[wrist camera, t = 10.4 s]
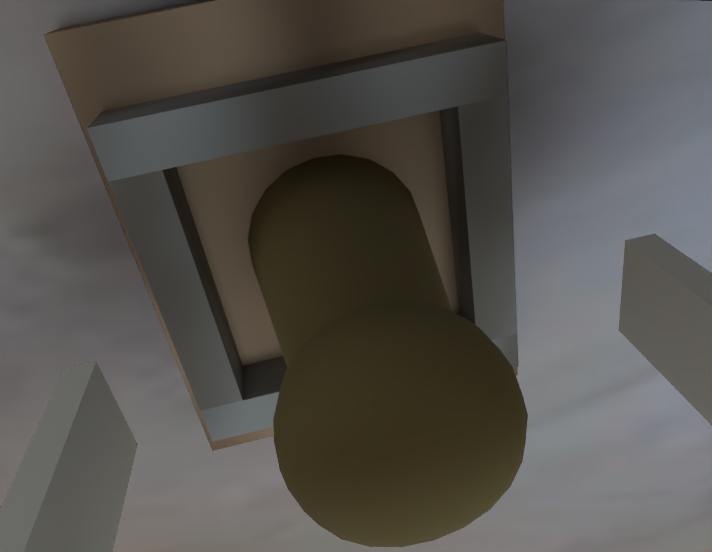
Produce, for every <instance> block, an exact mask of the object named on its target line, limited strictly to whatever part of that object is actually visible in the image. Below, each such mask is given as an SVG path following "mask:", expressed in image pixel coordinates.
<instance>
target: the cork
mask: <svg viewBox="0 0 712 552" xmlns="http://www.w3.org/2000/svg"><path fill="white" fill-rule="evenodd" d="M248 245H249V250H250V255H251V261H252V265H253V268H254V271H255V274H256V277H257V280H258V283H259V286H260V289H261V292H262V295H263V298H264V301H265V304H266V307H267V310H268V312H269V315H270V318H271V321H272V324H273V327H274V330H275V333H276V336H277V339H278V342H279V345H280V348H281V351H282V354H283V357H284V360H285V362H286V365H287V370H286V371H285V374H284V377H283V381H282V384H281V387H280V391H279V396H278V400H277V405H276V409H275V414H274V418H273V428H274V443H275V448H276V453H277V458H278V463H279V468H280V471H281V474H282V476H283V478H284V481H285V483H286V485H287V488H288V490H289V491H290V492H291V494H292V495H293V497H294V498H295V499H296V501H297V502H298V503H299V505H300V506H301V508H302V509H303V510H304V512H305V513H306V514H308V515H309V516H310V517H311V518H312V519H313V520H314V521H315V522H316V523H317V524H318V525H320V526H321V527H323V528H325V529H326V530H328V531H329V532H331V533H333V534H334V535H336V536H337V537H339V538H341V539H343V540H347V541H350V542H354V543H358V544H362V545H366V546H370V547H404V546H409V545H414V544H418V543H423V542H428V541H433V540H436V539H438V538H440V537H443V536H445V535H447V534H450V533H452V532H454V531H457V530H459V529H461V528H464V527H465V526H467V525H468V524H470V523H471V522H472V521H474V520H475V519H477V518H478V517H480V516H481V515H482V514H484V513H485V512H487V511H488V510H490V509H491V508H492V506H493V505H494V504H495V503H496V502H497V501H498V500H499V499H500V497H501V496H502V495H503V494H504V493H505V492H506V491H507V490H508V488H509V487H510V486H511V484H512V482H513V480H514V478H515V475H516V473H517V471H518V469H519V467H520V465H521V463H522V459H523V453H524V448H525V440H526V428H527V417H528V414H527V410H526V407H525V403H524V399H523V395H522V392H521V390H520V387H519V384H518V381H517V378H516V375H515V372H514V369H513V367H512V366H511V364H510V363H509V361H508V360H507V358H506V357H505V356H504V354H503V353H502V351H501V350H500V349H499V348H498V347H497V346H496V345H495V344H494V343H493V342H492V340H491V339H490V338H489V337H488V336H487V335H486V334H485V333H484V332H483V331H482V330H481V329H480V328H479V327H477V326H476V325H475V324H473V323H472V322H470V321H469V320H468V319H466V318H465V317H462V316H460V315H458V314H456V313H454V312H453V311H452V308H451V305H450V302H449V299H448V296H447V293H446V290H445V287H444V285H443V282H442V279H441V276H440V273H439V270H438V267H437V264H436V261H435V258H434V255H433V252H432V249H431V247H430V244H429V241H428V238H427V235H426V232H425V229H424V226H423V223H422V220H421V217H420V215H419V212H418V209H417V207H416V204H415V202H414V199H413V197H412V194H411V192H410V191H409V189H408V188H407V187H406V186H405V185H404V184H403V183H402V181H401V180H400V179H399V178H398V177H397V176H396V175H395V173H394V172H392V171H390V170H388V169H386V168H385V167H383V166H381V165H379V164H377V163H376V162H374V161H372V160H370V159H365V158H360V157H355V156H349V155H344V154H340V155H332V156H324V157H317V158H312V159H310V160H308V161H305V162H303V163H301V164H299V165H297V166H295V167H293V168H290V169H288V170H286V171H285V172H284V173H283V174H282V175H281V176H280V177H279V178H278V179H276V180H275V181H274V182H273V183H272V184H271V185H270V186H269V187H268V188H267V189H266V190H265V191H264V193H263V195H262V197H261V198H260V200H259V202H258V204H257V206H256V207H255V209H254V211H253V213H252V217H251V223H250V229H249V234H248Z"/></svg>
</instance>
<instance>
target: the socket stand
mask: <svg viewBox="0 0 712 552" xmlns="http://www.w3.org/2000/svg"><path fill="white" fill-rule="evenodd" d="M44 37H45V39H46V42H47V44H48V47H49V49H50V52H51V54H52V57H53V59H54V62H55V64H56V66H57V69H58V71H59V74H60V76H61V79H62V81H63V84H64V86H65V89H66V91H67V94H68V96H69V99H70V101H71V103H72V106H73V108H74V111H75V113H76V116H77V118H78V121H79V123H80V126H81V128H82V131H83V133H84V135H85V138H86V140H87V143H88V145H89V148H90V150H91V153H92V155H93V158H94V160H95V163H96V165H97V167H98V170H99V172H100V175H101V177H102V180H103V182H104V185H105V187H106V190H107V192H108V195H109V197H110V200H111V202H112V204H113V207H114V209H115V212H116V214H117V217H118V219H119V222H120V224H121V227H122V229H123V232H124V234H125V236H126V239H127V241H128V244H129V246H130V249H131V251H132V254H133V256H134V259H135V261H136V264H137V266H138V268H139V271H140V273H141V276H142V278H143V281H144V283H145V286H146V288H147V291H148V293H149V296H150V298H151V300H152V303H153V305H154V308H155V310H156V313H157V315H158V318H159V320H160V323H161V325H162V328H163V330H164V333H165V335H166V337H167V340H168V342H169V345H170V347H171V350H172V352H173V355H174V357H175V360H176V362H177V365H178V367H179V369H180V372H181V374H182V377H183V379H184V382H185V384H186V387H187V389H188V392H189V394H190V397H191V399H192V401H193V404H194V406H195V409H196V411H197V414H198V416H199V419H200V421H201V424H202V426H203V429H204V431H205V434H206V436H207V438H208V441H209V443H210V446H211V448H212V451H213V450H217V449H221V448H225V447H229V446H233V445H237V444H241V443H245V442H250V441H254V440H258V439H262V438H266V437H270V436H274V428H273V418H274V414H275V409H276V405H277V400H278V396H279V391H280V387H281V384H282V381H283V377H284V374H285V371H286V370H287V365H286V362H285V360H284V357H283V354H282V351H281V348H280V345H279V342H278V339H277V336H276V333H275V330H274V327H273V324H272V321H271V318H270V315H269V312H268V310H267V307H266V304H265V301H264V298H263V295H262V292H261V289H260V286H259V283H258V280H257V277H256V274H255V271H254V268H253V265H252V261H251V255H250V250H249V245H248V234H249V229H250V223H251V217H252V213H253V211H254V209H255V207H256V206H257V204H258V202H259V200H260V198H261V197H262V195H263V193H264V191H265V190H266V189H267V188H268V187H269V186H270V185H271V184H272V183H273V182H274V181H275V180H276V179H278V178H279V177H280V176H281V175H282V174H283V173H284V172H285V171H286V170H288V169H290V168H293V167H295V166H297V165H299V164H301V163H303V162H305V161H308V160H310V159H312V158H317V157H324V156H332V155H340V154H344V155H349V156H355V157H360V158H365V159H370V160H372V161H374V162H376V163H377V164H379V165H381V166H383V167H385V168H386V169H388V170H390V171H392V172H394V173H395V175H396V176H397V177H398V178H399V179H400V180H401V181H402V183H403V184H404V185H405V186H406V187H407V188H408V189H409V191H410V192H411V194H412V197H413V199H414V202H415V204H416V207H417V209H418V212H419V215H420V217H421V220H422V223H423V226H424V229H425V232H426V235H427V238H428V241H429V244H430V247H431V249H432V252H433V255H434V258H435V261H436V264H437V267H438V270H439V273H440V276H441V279H442V282H443V285H444V287H445V290H446V293H447V296H448V299H449V302H450V305H451V308H452V311H453V312H454V313H456V314H458V315H460V316H462V317H465V318H466V319H468V320H469V321H470V322H472V323H473V324H475V325H476V326H477V327H479V328H480V329H481V330H482V331H483V332H484V333H485V334H486V335H487V336H488V337H489V338H490V339H491V340H492V342H493V343H494V344H495V345H496V346H497V347H498V348H499V349H500V350H501V351H502V353H503V354H504V356H505V357H506V358H507V360H508V361H509V363H510V364H511V366H512V367H513V369H514V372H515V375H517V367H518V345H517V318H516V291H515V264H514V237H513V211H512V184H511V157H510V130H509V103H508V76H507V49H506V40H505V36H504V10H503V0H203V1H198V2H193V3H188V4H183V5H177V6H172V7H167V8H162V9H157V10H152V11H147V12H142V13H137V14H132V15H127V16H122V17H117V18H112V19H107V20H102V21H97V22H91V23H86V24H81V25H76V26H71V27H66V28H61V29H57V30H55V31H52V32H49V33H47V34H44Z"/></svg>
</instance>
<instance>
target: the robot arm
mask: <svg viewBox="0 0 712 552" xmlns="http://www.w3.org/2000/svg"><path fill="white" fill-rule="evenodd" d="M619 331H620V332H621V333H622V334H623V335H624V336H625V337H626V338H627V339H628V340H629V341H630V342H631V343H632V344H633V345H634V346H635V347H636V348H637V349H638V350H639V351H640V352H641V353H642V354H643V355H644V356H645V357H646V359H647V360H648V361H649V362H650V363H651V364H652V365H653V366H654V367H655V368H656V369H657V370H658V371H659V372H660V373H661V374H662V375H663V376H664V377H665V378H666V379H667V380H668V381H669V382H670V383H671V384H672V385H673V386H674V387H675V388H676V389H677V390H678V391H679V392H680V393H681V394H682V395H683V396H684V397H685V398H686V399H687V400H688V401H689V403H690V404H691V405H692V406H693V407H694V408H695V409H696V410H697V411H698V412H699V413H700V414H701V415H702V416H703V417H704V418H705V419H706V420H707V421H708V422H709V423H710V424H711V425H712V273H711V272H709V271H708V270H706V269H705V268H703V267H702V266H700V265H699V264H698V263H696V262H695V261H693V260H692V259H690V258H689V257H687V256H686V255H685V254H683V253H682V252H680V251H679V250H677V249H676V248H674V247H673V246H672V245H670V244H669V243H667V242H666V241H664V240H663V239H661V238H660V237H659V236H657V235H656V234H651V235H647V236H643V237H638V238H634V239H630V240H625V252H624V266H623V279H622V293H621V306H620V320H619ZM136 448H137V442H136V440H135V438H134V436H133V434H132V432H131V430H130V428H129V426H128V424H127V422H126V420H125V418H124V416H123V414H122V412H121V410H120V408H119V406H118V404H117V402H116V400H115V398H114V396H113V394H112V392H111V390H110V388H109V386H108V384H107V382H106V380H105V378H104V376H103V374H102V372H101V370H100V368H99V366H98V364H97V362H96V361H95V362H91V363H86V364H82V365H78V366H73V367H69V368H64V369H63V371H62V373H61V376H60V378H59V380H58V382H57V384H56V387H55V389H54V391H53V393H52V396H51V398H50V400H49V402H48V404H47V407H46V409H45V411H44V413H43V415H42V418H41V420H40V422H39V424H38V426H37V429H36V431H35V433H34V435H33V438H32V440H31V442H30V444H29V446H28V449H27V451H26V453H25V455H24V457H23V460H22V462H21V464H20V466H19V468H18V471H17V473H16V475H15V477H14V479H13V482H12V484H11V486H10V488H9V491H8V493H7V495H6V497H5V499H4V502H3V504H2V506H1V508H0V552H112V551H113V547H114V542H115V538H116V534H117V529H118V525H119V521H120V517H121V512H122V508H123V504H124V499H125V495H126V491H127V486H128V482H129V478H130V474H131V469H132V465H133V461H134V456H135V452H136Z"/></svg>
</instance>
